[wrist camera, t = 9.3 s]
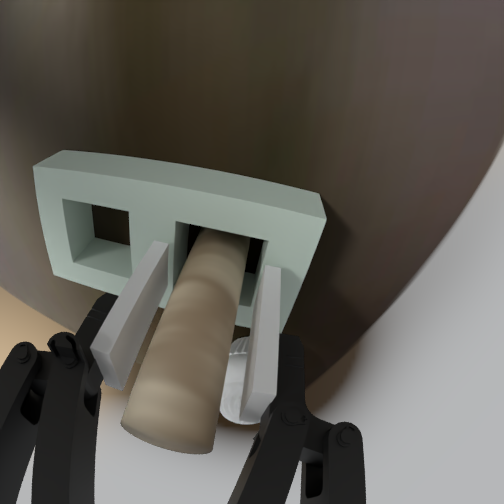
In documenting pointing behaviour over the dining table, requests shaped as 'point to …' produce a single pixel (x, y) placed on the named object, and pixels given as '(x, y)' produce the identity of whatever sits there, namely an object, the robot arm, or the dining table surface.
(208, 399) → the peg
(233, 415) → the muffin
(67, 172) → the hole block
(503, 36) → the dining table surface
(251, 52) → the dining table surface
